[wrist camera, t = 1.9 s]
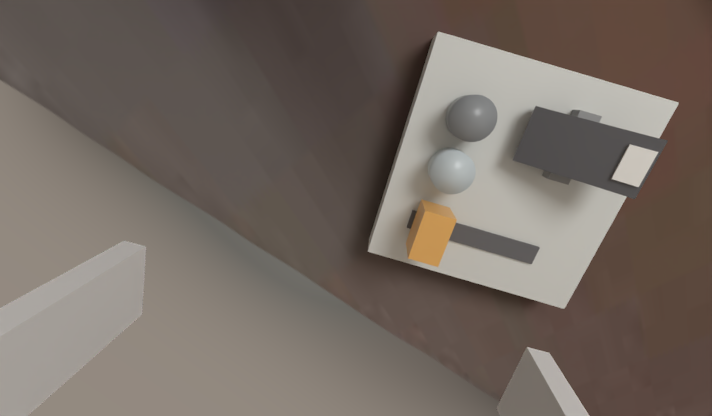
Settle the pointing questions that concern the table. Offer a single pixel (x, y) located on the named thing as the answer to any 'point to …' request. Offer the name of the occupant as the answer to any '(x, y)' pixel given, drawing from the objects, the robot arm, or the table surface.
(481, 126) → the button
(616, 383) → the table surface
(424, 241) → the slider knob
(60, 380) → the robot arm
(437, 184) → the button
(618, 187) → the dark grey slab
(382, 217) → the panel
